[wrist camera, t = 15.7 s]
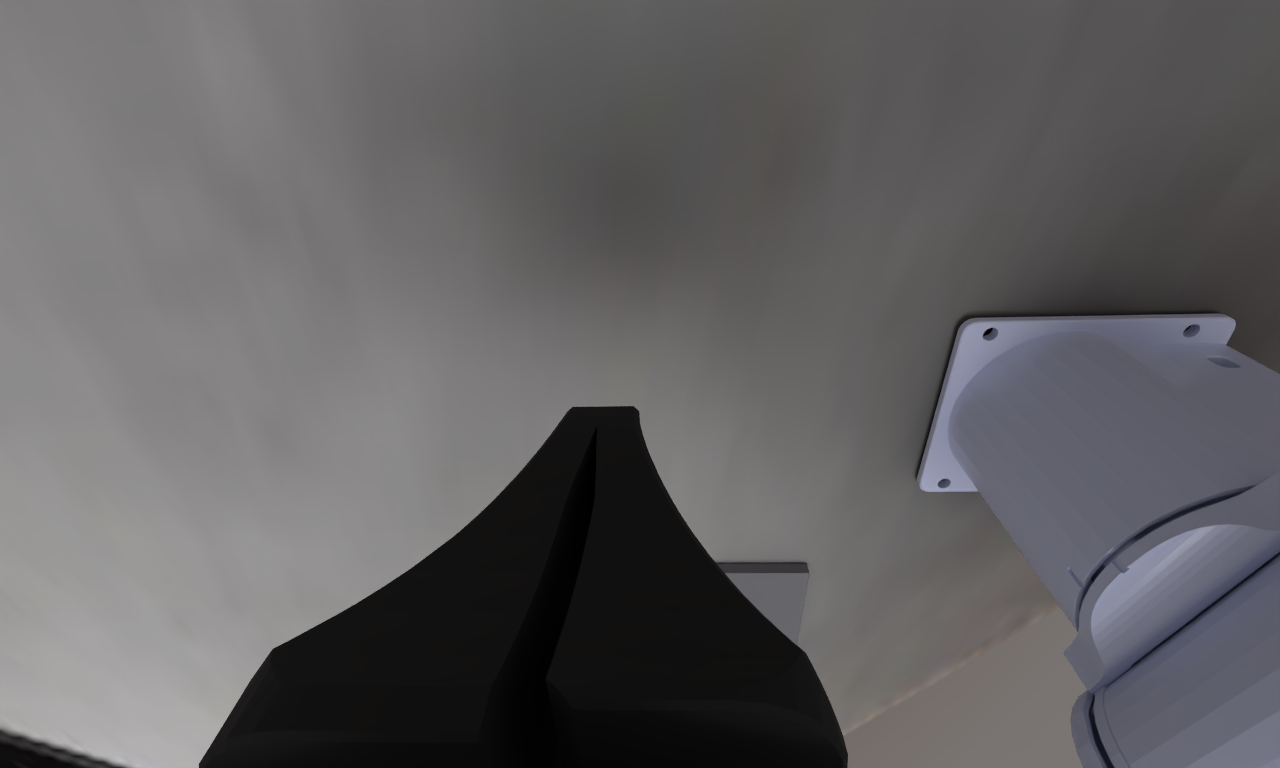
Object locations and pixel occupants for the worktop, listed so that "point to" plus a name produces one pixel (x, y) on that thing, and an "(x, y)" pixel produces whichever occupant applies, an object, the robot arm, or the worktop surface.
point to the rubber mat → (773, 591)
